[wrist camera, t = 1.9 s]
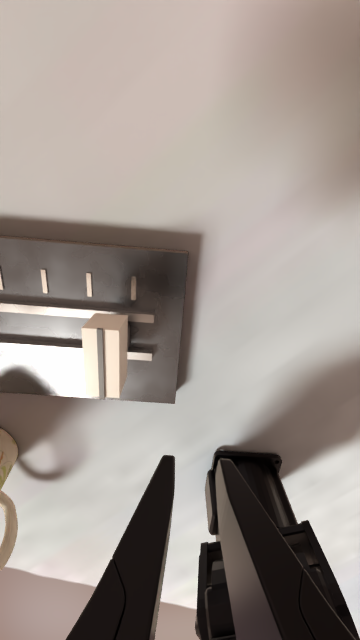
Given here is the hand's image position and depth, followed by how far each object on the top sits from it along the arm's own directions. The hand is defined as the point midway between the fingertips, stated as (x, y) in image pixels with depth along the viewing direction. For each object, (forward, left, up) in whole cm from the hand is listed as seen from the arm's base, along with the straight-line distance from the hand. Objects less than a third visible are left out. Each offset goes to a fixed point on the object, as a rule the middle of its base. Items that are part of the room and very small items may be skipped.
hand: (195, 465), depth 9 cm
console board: (+10, 0, -12) cm, 16 cm away
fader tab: (+5, 0, -10) cm, 12 cm away
